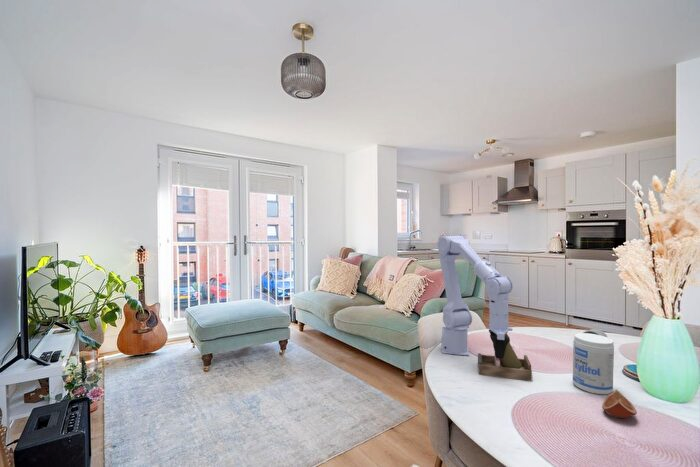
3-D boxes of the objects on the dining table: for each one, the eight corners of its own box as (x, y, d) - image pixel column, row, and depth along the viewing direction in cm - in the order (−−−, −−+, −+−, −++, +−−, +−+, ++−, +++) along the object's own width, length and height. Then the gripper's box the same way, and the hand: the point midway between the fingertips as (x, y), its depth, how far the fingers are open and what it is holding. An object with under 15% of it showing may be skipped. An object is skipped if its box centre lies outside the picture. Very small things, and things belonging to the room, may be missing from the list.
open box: (479, 374, 107) (479, 360, 107) (478, 362, 116) (477, 349, 116) (531, 381, 102) (531, 366, 102) (526, 368, 111) (526, 354, 111)
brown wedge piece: (602, 404, 88) (602, 385, 88) (635, 412, 84) (635, 393, 84) (602, 418, 82) (602, 398, 82) (638, 428, 78) (638, 407, 78)
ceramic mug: (609, 348, 129) (608, 328, 129) (603, 354, 123) (603, 333, 123) (577, 342, 137) (576, 323, 137) (570, 347, 131) (570, 327, 131)
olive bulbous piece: (518, 361, 110) (505, 329, 112) (524, 368, 105) (510, 333, 106) (500, 366, 112) (488, 334, 113) (505, 373, 106) (491, 339, 107)
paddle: (496, 372, 106) (496, 360, 106) (494, 363, 113) (494, 352, 113) (499, 372, 106) (499, 361, 106) (497, 363, 113) (497, 352, 113)
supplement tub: (570, 388, 97) (570, 338, 97) (574, 377, 104) (575, 330, 104) (613, 399, 91) (613, 345, 91) (614, 386, 98) (614, 336, 98)
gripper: (515, 320, 101) (515, 365, 101) (509, 309, 115) (509, 348, 115) (490, 318, 103) (490, 362, 104) (487, 307, 117) (487, 346, 117)
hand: (498, 355), depth 109 cm, fingers closed on olive bulbous piece, 5 cm apart
